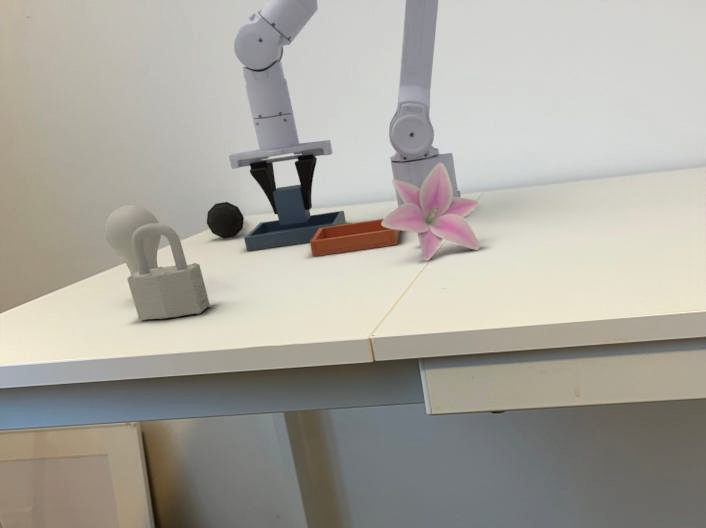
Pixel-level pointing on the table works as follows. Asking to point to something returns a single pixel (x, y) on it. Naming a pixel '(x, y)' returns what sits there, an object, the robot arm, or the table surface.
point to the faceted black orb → (225, 220)
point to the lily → (433, 213)
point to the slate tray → (290, 231)
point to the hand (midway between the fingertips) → (293, 210)
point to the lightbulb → (121, 233)
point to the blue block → (290, 205)
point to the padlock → (165, 280)
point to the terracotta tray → (352, 237)
